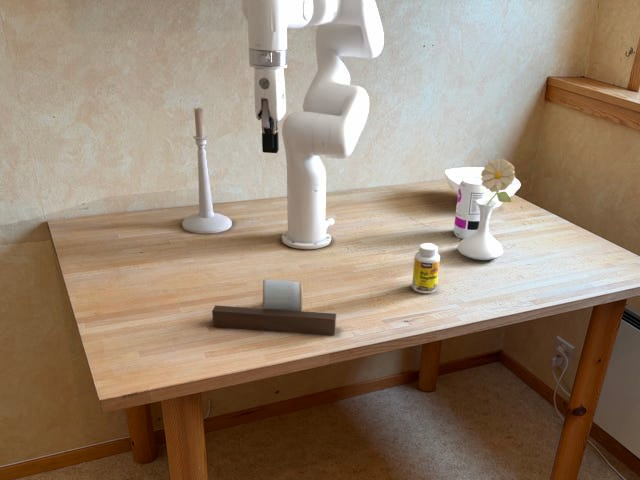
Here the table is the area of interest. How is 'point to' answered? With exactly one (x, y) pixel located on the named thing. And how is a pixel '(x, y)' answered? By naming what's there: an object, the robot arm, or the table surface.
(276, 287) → the ceramic mug
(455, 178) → the bowl
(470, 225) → the supplement can
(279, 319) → the board
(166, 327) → the table surface
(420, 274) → the supplement bottle
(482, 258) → the flower in vase
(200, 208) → the candlestick
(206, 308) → the table surface
